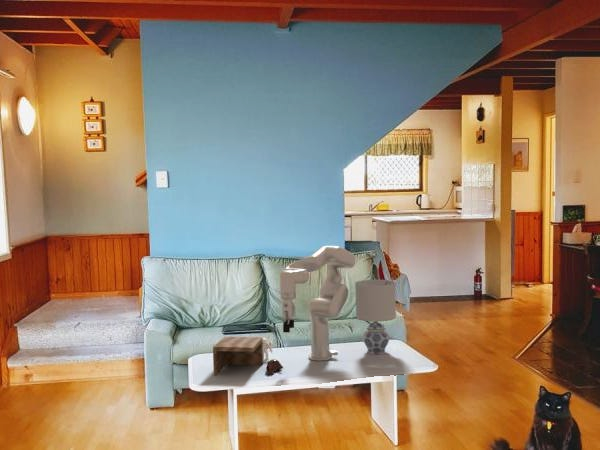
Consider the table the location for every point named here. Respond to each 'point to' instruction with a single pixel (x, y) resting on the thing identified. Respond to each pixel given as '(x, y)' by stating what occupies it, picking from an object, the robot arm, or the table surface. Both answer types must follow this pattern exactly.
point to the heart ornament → (273, 366)
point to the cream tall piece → (266, 347)
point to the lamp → (375, 311)
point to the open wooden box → (237, 352)
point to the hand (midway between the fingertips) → (288, 330)
